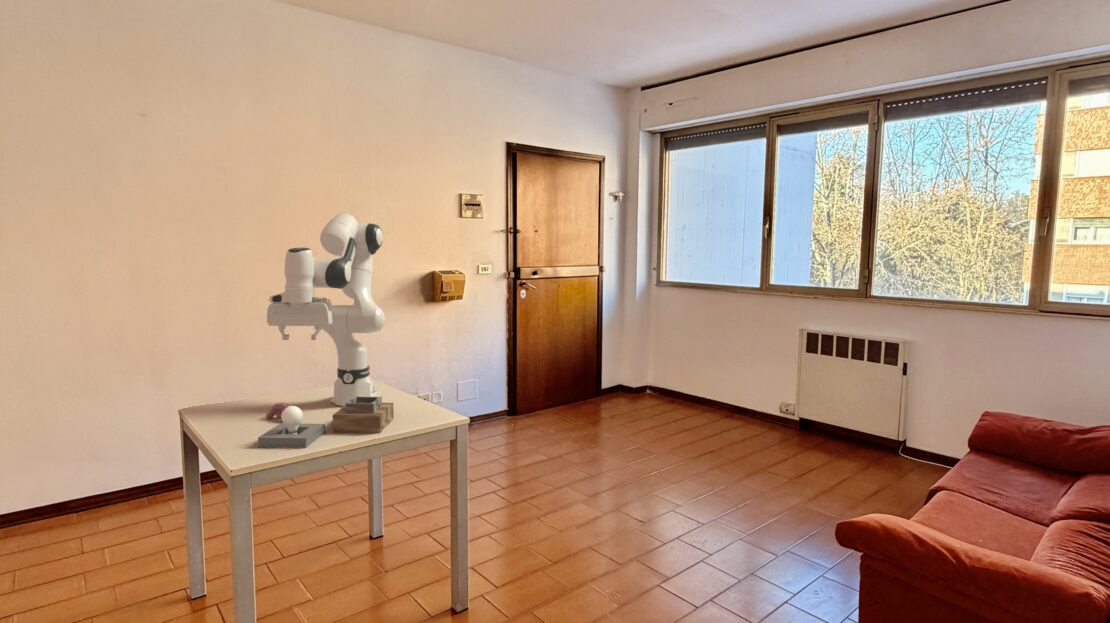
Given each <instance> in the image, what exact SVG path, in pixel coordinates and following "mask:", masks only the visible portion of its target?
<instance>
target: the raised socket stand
mask: <svg viewBox="0 0 1110 623" xmlns="http://www.w3.org/2000/svg"><path fill="white" fill-rule="evenodd" d="M394 414H395V413H394V402H383V399H382V396H380V397H354V398H352V399H351V400H350V401H348V402H347V403H346V404H345V406H341V408H340V409H338V410H337V411H335V412H334V413H333V414H332V433H358V434H359V433H363V434H365V433H367V434H369V433H370V434H371V433H372V434H376V433H377V434H378V433H379V434H381V433H382V432H383V431H384V430H385V429H386V428H387V426H388V425H389V424H391V422H392V421H394ZM385 427H386V428H385ZM384 428H385V429H384ZM383 429H384V430H383ZM382 430H383V431H382Z"/></svg>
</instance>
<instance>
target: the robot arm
mask: <svg viewBox="0 0 1110 623" xmlns="http://www.w3.org/2000/svg"><path fill="white" fill-rule="evenodd" d="M319 241H320V244H321V246H322V248H323V249H324V250H325V251H326V252H327V253H328V254H331V255H333V256H338V258H331V259H329V258H327V259H326V258H315V257H314V254H313V251H312V249H311V248H310V247H292V248H289V249H288V250H287V251H286V254H285V261H284V278H285V285H284V292H280V293H278V294H274V295H271V296H269V298H268V301H269V303H270V304H268V307H267V309H266V323H267V325H268V326H270V327H274V326H276V327H278V331H279V333H280V334H281V339H282V340H283V341H289V340H290V334H289V333H287V332H286V331H285V329H286V328H287V327H293V326H294V327H296V326H297V327H304V326H306V327H314V330H315V331H314V333H313V334H311V335H310V336H311V338H310V339H311V341H317V340H318V339H319V334H320V332H321V330H322V331H324V332H325V333H327V335H328V336H329V337H330V338H331V339H332V341H333V342H334V345H335V348H336V351H337V354H336V355H337V366H338V367H337V369H336V370H337V371H336V374H337V379H335V381H334V383H333V386H334V387H333V397H332V398H330V400H329V401H330V403H333V404H335V405H337V406H340V407H344V406H345V404H346V403H347V402H348V401H350V400H351V399H352V398H354V397H381V395H382V392H381V391H380V390H376V381H375V380H374V379H373V378H372V377H371V375H370V374H371V373H370V371H371V365H370V364H368V348H367V347H366V345H365V344H364V343H363V342H360V341H359V340H357V339H356V338H355V336H354V334H371V333H376V332H381V330H382V329H383V328H384V325H385V323H386V316H385V313H384V311H383V309H381V307H380V306H378V305H377V304H376V303H375V301H374V299H373V296H372V282H373V275H374V259H373V258H374V257H373V255H375V254H376V253H377V251H378V250H379V249H380V248H381V247H382V245H383V241H384V235H383V231H382V228H381V227H380V226H379V225H378V224H374V223H363V222H358V220H357V219H356V217H354V216H353V215H352V214H350V213H347V212H342V213H339V214H337V215H335V216H334V217H332V218H331V219H330V221H328V223H326V225H325V226H324V228H323V229H322V230H321V232H320V236H319ZM315 288H316V289H317V288H320V289H321V288H322V289H323V288H324V289H326V288H328V289H329V288H331V289H341V291H342V293H343V294H344V295H345V296H346V297H348V298H350V299H352V300H353V304H350V305H349V304H348V305H347V304H334V305H333V303H332V300H330V299H329V298H327V297H315ZM380 394H381V395H380Z"/></svg>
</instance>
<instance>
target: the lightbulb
mask: <svg viewBox="0 0 1110 623" xmlns="http://www.w3.org/2000/svg"><path fill="white" fill-rule="evenodd" d="M303 417H304V413H303V410H302V409H301V408H300V407H298V406H296V405H291V406H289V407H287V408H285V409H284V410H283V412H282V415H281V418H280V420H281V419H282V421H283V423H284V424H285V425H286V427H287V430H288V433H289V434H297V430H298V426H299V423H302V420H303Z"/></svg>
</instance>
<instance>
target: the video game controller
mask: <svg viewBox="0 0 1110 623" xmlns="http://www.w3.org/2000/svg"><path fill="white" fill-rule="evenodd" d="M289 406H292V405H291V404H289V403H287V402H276V403H275V404H274V405H272V407H271V409H270V410H269V411H267V413H265V414H266V415H265V418H266V420H270V419H272V418H273V417H274V416H275V417H276V419H280V423H283V421H282V419H281V415H282V412H283V410H284V409H285V408H287V407H289Z"/></svg>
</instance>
